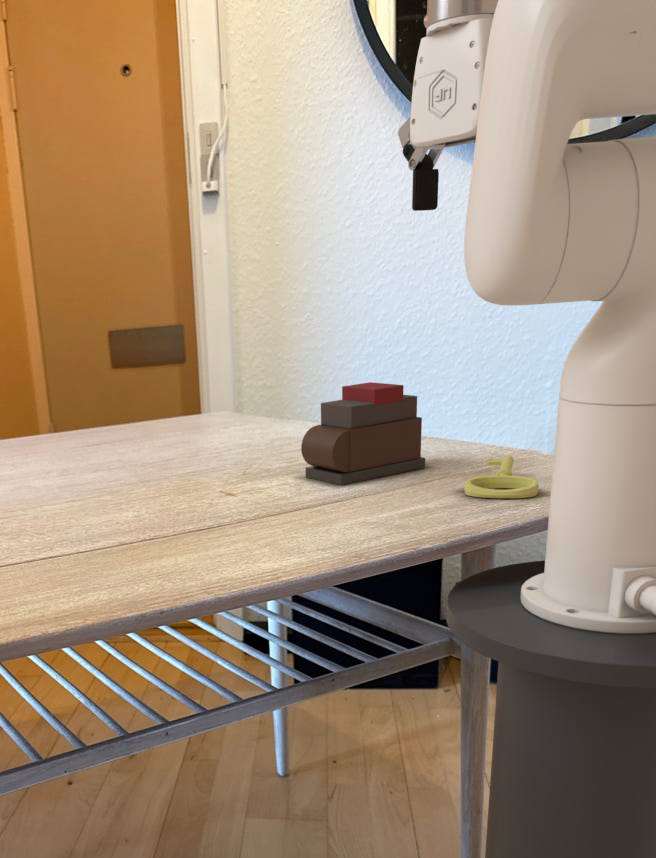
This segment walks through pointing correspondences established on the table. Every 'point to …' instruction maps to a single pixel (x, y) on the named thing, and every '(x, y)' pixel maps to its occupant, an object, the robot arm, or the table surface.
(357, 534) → the table surface
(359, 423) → the two-tier step block
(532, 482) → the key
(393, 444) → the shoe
